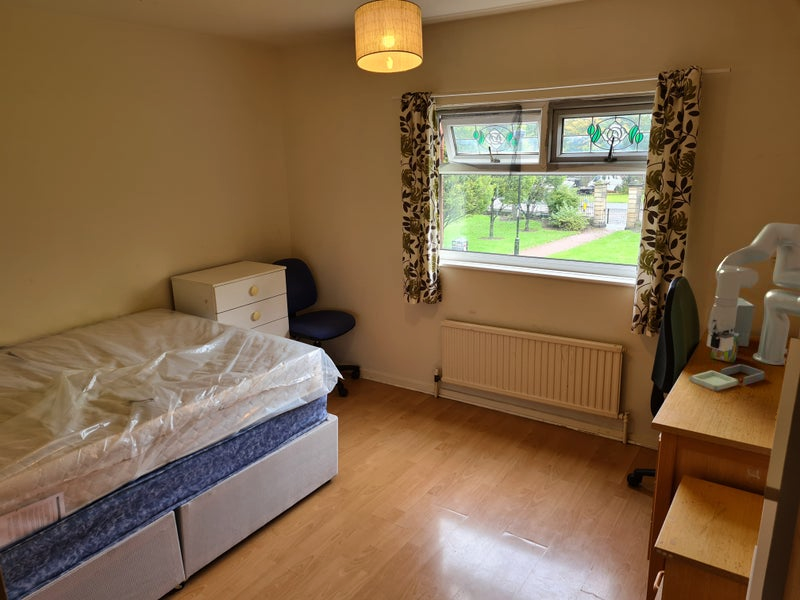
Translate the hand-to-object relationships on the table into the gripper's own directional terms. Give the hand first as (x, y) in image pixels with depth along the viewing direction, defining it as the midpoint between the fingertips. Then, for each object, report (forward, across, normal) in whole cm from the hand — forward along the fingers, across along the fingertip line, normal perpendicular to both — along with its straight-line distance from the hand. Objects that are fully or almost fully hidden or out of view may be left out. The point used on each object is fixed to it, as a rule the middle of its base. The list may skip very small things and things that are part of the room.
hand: (719, 346), depth 212 cm
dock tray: (+16, 0, 0) cm, 16 cm away
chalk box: (+16, -29, -16) cm, 36 cm away
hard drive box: (+16, -54, -28) cm, 63 cm away
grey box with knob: (+1, 0, 0) cm, 1 cm away
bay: (+15, -14, +2) cm, 21 cm away
